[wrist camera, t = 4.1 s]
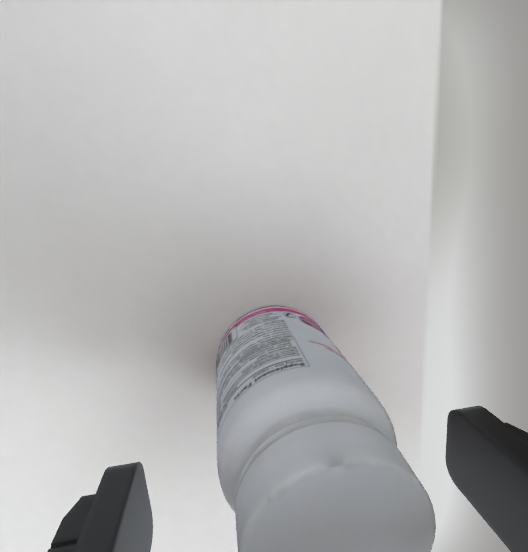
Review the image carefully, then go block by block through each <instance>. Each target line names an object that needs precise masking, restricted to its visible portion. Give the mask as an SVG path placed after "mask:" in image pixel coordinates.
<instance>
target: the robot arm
mask: <svg viewBox="0 0 528 552" xmlns="http://www.w3.org/2000/svg"><path fill="white" fill-rule="evenodd" d="M446 465H447V468H448V471H449V474H450V476H451V478H452V480H453V482H454V483H455V485H456V486H457V487H458V489H459V490H460V491H461V492H462V493H463V494H464V496H465V497H466V498H467V499H468V500H469V502H470V503H471V504H472V505H473V507H474V508H475V509H476V510H477V511H478V513H479V514H480V515H481V516H482V517H483V519H484V520H485V521H486V522H487V523H488V525H489V526H490V527H491V528H492V529H493V531H494V532H495V533H496V534H497V535H498V537H499V538H500V539H501V540H502V541H503V542H504V544H505V545H506V546H507V547H508V548H509V550H510V551H511V552H528V433H527V432H525V431H523V430H521V429H519V428H517V427H515V426H512V425H510V424H508V423H503V422H502V421H501V420H499V419H498V418H497V417H496V416H494V415H493V414H492V413H490V412H489V411H488V410H487V409H485V408H483V407H481V406H475V407H469V408H463V409H457V410H452V411H450V413H449V415H448V423H447V443H446ZM152 534H153V519H152V511H151V505H150V500H149V495H148V490H147V485H146V480H145V475H144V470H143V466H142V464H141V462H137V463H131V464H125V465H119V466H113V467H108V468H107V469H106V470H105V472H104V474H103V477H102V480H101V482H100V485H99V487H98V490H97V492H96V494H94V495H88V496H82V497H81V498H80V500H79V501H78V502H77V503H76V504H75V505H74V506H73V508H72V509H71V510H70V511H69V512H68V513H67V515H66V516H65V517H64V518H63V520H62V522H61V524H60V526H59V528H58V530H57V533H56V535H55V537H54V539H53V541H52V543H51V549H49V550H48V552H150V550H151V544H152Z"/></svg>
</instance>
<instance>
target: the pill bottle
mask: <svg viewBox="0 0 528 552" xmlns="http://www.w3.org/2000/svg"><path fill="white" fill-rule="evenodd" d="M216 378H217V380H216V385H217V466H218V474H219V479H220V484H221V488H222V490H223V493H224V496H225V498H226V500H227V502H228V503H229V505H230V506H231V508H232V509H233V511H234V512H235V513H236V530H237V542H238V552H430V551H431V549H432V544H433V542H434V537H435V529H436V526H435V514H434V510H433V506H432V503H431V501H430V498H429V496H428V494H427V492H426V490H425V489H424V487H423V485H422V484H421V482H420V481H419V480H418V478H417V477H416V475H415V474H414V472H413V471H412V469H411V467H410V466H409V464H408V463H407V461H406V460H405V458H404V457H403V455H402V454H401V452H400V451H399V450H398V448H397V442H396V436H395V432H394V428H393V425H392V423H391V420H390V418H389V416H388V414H387V412H386V411H385V409H384V407H383V406H382V404H381V403H380V402H379V400H378V399H377V397H376V396H375V395H374V393H373V392H372V391H371V390H370V388H369V387H368V386H367V385H366V383H365V382H364V381H363V380H362V378H361V377H360V376H359V375H358V373H357V372H356V371H355V369H354V368H353V367H352V366H351V365H350V363H349V362H348V361H347V360H346V358H345V357H344V356H343V355H342V354H341V352H340V351H339V350H338V348H337V347H336V346H335V345H334V344H333V342H332V341H331V340H330V339H329V338H328V336H327V335H326V334H325V333H324V331H323V330H322V329H321V328H320V326H319V325H318V324H317V323H316V322H315V321H314V320H313V319H311V318H310V317H309V316H307V315H306V314H304V313H302V312H300V311H298V310H295V309H292V308H288V307H281V306H273V307H266V308H262V309H258V310H255V311H253V312H250V313H248V314H246V315H245V316H243V317H242V318H240V319H239V320H238V321H236V322H235V323H234V324H233V325H232V326H231V327H230V328H229V330H228V331H227V333H226V334H225V336H224V337H223V339H222V341H221V344H220V347H219V350H218V354H217V362H216Z"/></svg>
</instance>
